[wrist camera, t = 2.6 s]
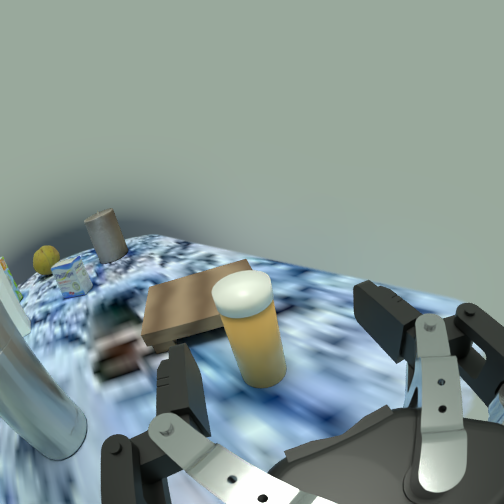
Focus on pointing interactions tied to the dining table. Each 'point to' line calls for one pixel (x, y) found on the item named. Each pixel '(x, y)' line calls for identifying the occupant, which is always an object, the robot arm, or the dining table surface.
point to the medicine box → (72, 277)
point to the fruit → (45, 260)
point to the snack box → (10, 279)
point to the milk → (13, 305)
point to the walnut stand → (184, 307)
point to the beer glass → (251, 326)
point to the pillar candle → (106, 236)
